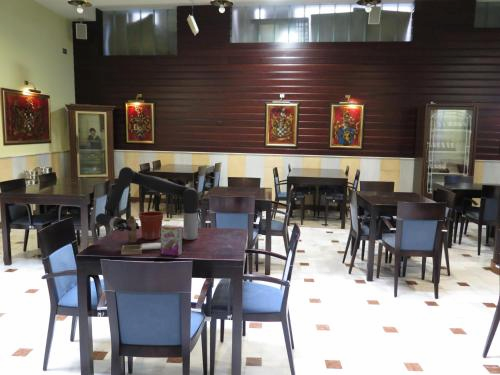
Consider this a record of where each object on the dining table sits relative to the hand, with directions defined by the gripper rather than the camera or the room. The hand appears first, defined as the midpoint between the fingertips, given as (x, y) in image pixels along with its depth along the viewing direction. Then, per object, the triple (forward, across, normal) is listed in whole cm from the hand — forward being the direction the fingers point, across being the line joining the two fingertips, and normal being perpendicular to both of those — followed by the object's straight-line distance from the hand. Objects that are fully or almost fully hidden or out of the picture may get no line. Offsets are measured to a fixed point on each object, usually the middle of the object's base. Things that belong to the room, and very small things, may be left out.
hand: (134, 228), depth 240 cm
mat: (-5, +14, +14) cm, 21 cm away
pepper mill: (-3, 0, +8) cm, 8 cm away
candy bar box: (+17, +12, +15) cm, 26 cm away
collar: (-3, 0, +14) cm, 15 cm away
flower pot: (-24, +28, +15) cm, 39 cm away
